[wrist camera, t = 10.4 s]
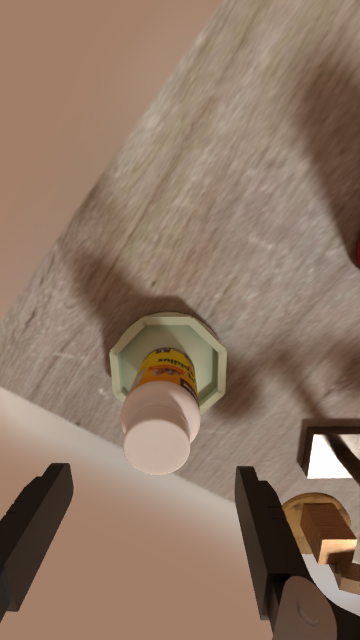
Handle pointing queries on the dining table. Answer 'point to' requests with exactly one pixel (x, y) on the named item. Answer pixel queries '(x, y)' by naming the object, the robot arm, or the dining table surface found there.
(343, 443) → the balance
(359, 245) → the beverage can
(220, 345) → the dish
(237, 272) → the dining table surface
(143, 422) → the supplement bottle
